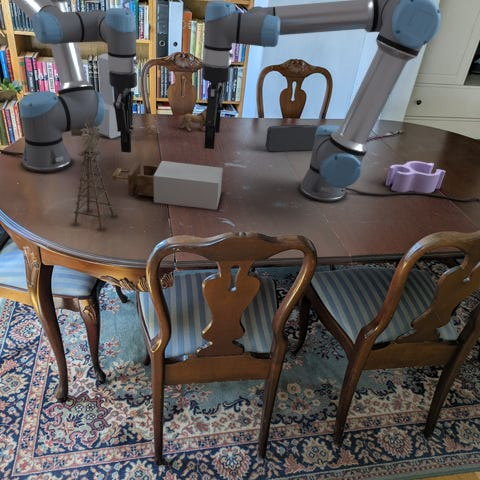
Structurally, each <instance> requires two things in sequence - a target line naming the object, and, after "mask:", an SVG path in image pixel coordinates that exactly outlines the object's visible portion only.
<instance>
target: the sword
mask: <svg viewBox="0 0 480 480" xmlns="http://www.w3.org/2000/svg"><path fill="white" fill-rule="evenodd" d="M399 131H400V132H401V133H400V134H403V133H405V131H404V132H402V131H403V130H399ZM398 134H399V133H398V131H389V132H387V133H384V134H378V135H375V136H369V137H368V139H367V141H370V140H375V139H379V138H383V137H388V136H395V135H398ZM367 141H366V142H367Z"/></svg>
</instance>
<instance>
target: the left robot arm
mask: <svg viewBox="0 0 480 480" xmlns="http://www.w3.org/2000/svg"><path fill="white" fill-rule="evenodd" d="M11 1H12V3H14V4H15V5H16V6H17V7H18V8H19V10H21V11H22V12H23V14H25V16H27V17H28V19H30V20H31V24H32V25H31V27H32V30H33V34H34V36H35V38H36V40H37V41H38V42H39V43H40V44H43V45H50V49H51V51H52V53H51V54H52V57H53V61H54V64H55V68H56V71H57V75H58V79H59V83H60V86H59V88H58V90H57V93H58V94H57V93H56V92H54V91H49V90H46V91H43V90H41V91H35V92H34V91H33V92H31V93H28V94H26V95H24V96H23V97H21V99H20V100H19V103H18V104H19V116H20V119H21V125H22V132H23V136H24V148H23V152H15V151H14V152H13V151H7V150H3V149H0V153H3V154H7V155H13V156H22V158H21V161H22V166H23V168H24V169H25V170H27V171H29V172H33V173H39V174H46V173H56V172H61V171H63V170H66V169H67V168H69V167H70V166H71V163H72V159H71V155H70V153H69V151H68V150H67V149H68V148H67V147H66V145H65V143H64V140H63V133H66V132H71V127H73V128H77V129H80V130H83V128H85V129H86V130H88V129H89V127H90V122H91V126H92V127H93V128H95V127H96V126H97V124H98V123H99V125H100V124H101V123H102V122H103V119H104V115H105V106H104V100H103V98H102V96H101V94H100V91H97V90H95V88H94V85H93V84H91V83H90V82H89V81H88V80H87V75H86V71H85V67H84V62H83V59H82V55H81V51H80V47H79V43H100V42H101V43H104V44H106V45H107V54H108V68H109V70H110V72H109V81H110V85H111V86H112V87H115V88H116V89H117V90H116V93H115V99H116V102H114V103H113V105H114V109H115V114H116V122H117V129H118V130H117V131H118V132H120V136H119V137H120V152H121V153H129V154H130V153H132V131H134V127H133V124H134V122H133V121H134V99H135V91H134V90H132V89H135V88H137V86H138V73H137V65H138V64H139V60H138V59H137V25H136V14H135V13H134V11H133V10H131V9H127V8H123V7H121V8H120V7H112V8H111V7H110V8H107V9H106V11H105V10H102V9H90V10H88V11H70V8H69V5H70V3H71V2H72V0H11ZM92 116H93V120H92ZM89 117H90V118H89ZM94 118H95V121H94ZM87 119H88V123H89V126H88V123H87ZM96 120H97V122H96ZM93 122H94V125H95V123H96V125H95V127H94V125H93ZM85 123H86V125H87V127H88V129H87V128H86V126H85ZM99 125H98V126H99Z"/></svg>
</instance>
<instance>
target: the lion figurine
mask: <svg viewBox="0 0 480 480" xmlns="http://www.w3.org/2000/svg"><path fill="white" fill-rule="evenodd" d="M206 110H207V107H206V108H204V109H203V111H201V112H200V113H198V114H192V113H185V114H184V115H183V116H182V118H181V122H180V125H179V126H178V128H177V129H179V130H180V129H185V128H186V129H187V131H189V132H191V131H192V129H191V128H190V127H189V126H190V124H191V123H193V124H195V125H197V124H199V126H198V128H199V129H200V130H201V131H202V132H205V126H203V123H205V120H206ZM208 122H209V121H208ZM185 124H186V126H184V125H185Z"/></svg>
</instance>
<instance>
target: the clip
mask: <svg viewBox="0 0 480 480" xmlns="http://www.w3.org/2000/svg"><path fill="white" fill-rule="evenodd" d="M434 165H435V163H434V162H429V163H428V162H424V161H417V160H411V161H406V163H405V164H392V165H390V166H389V170H388V174H387V177H386V181H385V186H387V187H389V186H390V185H392V186H391V191H393V192H421V193H429V194H432V193H434V191H435V190H440V188H441V185H442V183H443V180H444V178H445V175H446V172H447V171H446V170H443V169H439V168H435V169H436V170H435V172H434V173H432V171H433V168H434Z"/></svg>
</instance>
